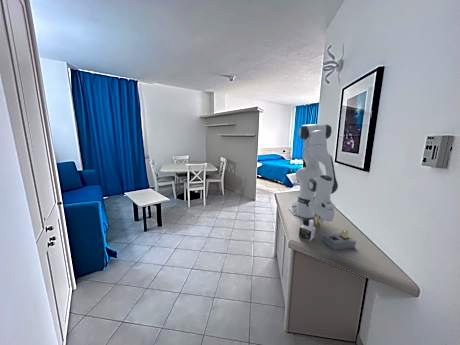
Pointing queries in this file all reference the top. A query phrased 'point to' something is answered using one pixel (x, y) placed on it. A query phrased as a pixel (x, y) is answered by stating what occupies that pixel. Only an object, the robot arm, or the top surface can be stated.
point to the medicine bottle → (307, 229)
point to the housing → (338, 241)
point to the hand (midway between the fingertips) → (318, 221)
